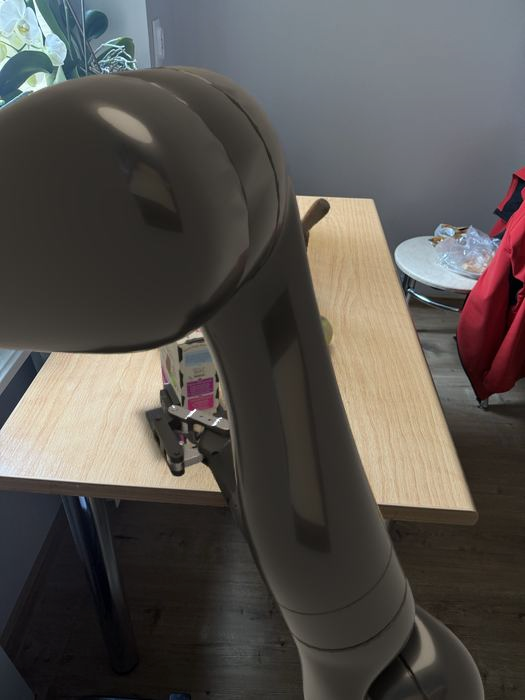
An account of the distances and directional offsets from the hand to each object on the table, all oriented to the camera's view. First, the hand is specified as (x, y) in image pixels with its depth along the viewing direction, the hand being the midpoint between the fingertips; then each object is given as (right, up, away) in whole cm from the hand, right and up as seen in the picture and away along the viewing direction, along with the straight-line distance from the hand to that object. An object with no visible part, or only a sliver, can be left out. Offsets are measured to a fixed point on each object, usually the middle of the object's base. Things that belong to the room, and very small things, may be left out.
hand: (206, 379), depth 56 cm
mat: (-4, -7, +16) cm, 17 cm away
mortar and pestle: (+11, +13, +44) cm, 47 cm away
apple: (+14, +3, +31) cm, 34 cm away
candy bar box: (-4, -6, +16) cm, 17 cm away
